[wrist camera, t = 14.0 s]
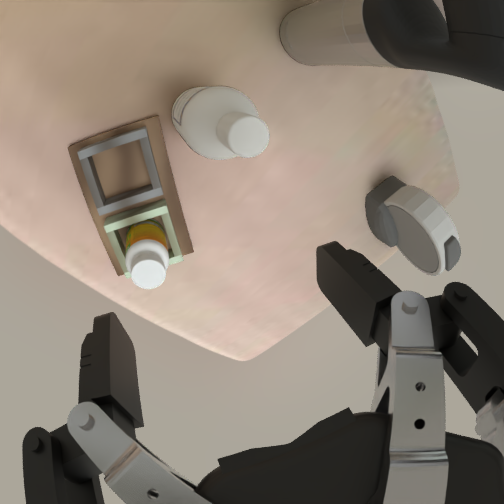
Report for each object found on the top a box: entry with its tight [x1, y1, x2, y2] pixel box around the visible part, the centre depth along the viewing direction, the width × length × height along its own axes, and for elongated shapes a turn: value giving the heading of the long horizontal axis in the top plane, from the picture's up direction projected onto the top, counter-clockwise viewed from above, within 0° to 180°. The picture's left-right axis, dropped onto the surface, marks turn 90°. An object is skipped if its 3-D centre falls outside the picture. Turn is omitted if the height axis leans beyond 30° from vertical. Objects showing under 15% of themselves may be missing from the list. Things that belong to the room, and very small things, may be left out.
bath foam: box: [172, 86, 270, 160], centre depth 26 cm, size 7×7×20 cm
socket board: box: [68, 116, 194, 278], centre depth 36 cm, size 12×20×4 cm, turn 9°
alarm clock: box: [365, 176, 461, 276], centre depth 46 cm, size 16×10×18 cm, turn 33°
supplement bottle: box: [125, 218, 169, 289], centre depth 35 cm, size 5×5×10 cm
